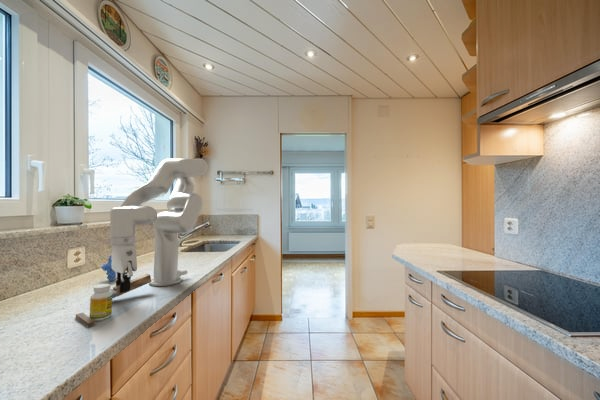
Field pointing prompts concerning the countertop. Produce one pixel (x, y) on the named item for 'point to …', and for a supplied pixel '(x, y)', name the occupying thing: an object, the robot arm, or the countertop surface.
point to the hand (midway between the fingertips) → (123, 290)
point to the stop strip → (85, 320)
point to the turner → (132, 285)
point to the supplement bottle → (101, 302)
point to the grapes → (109, 270)
